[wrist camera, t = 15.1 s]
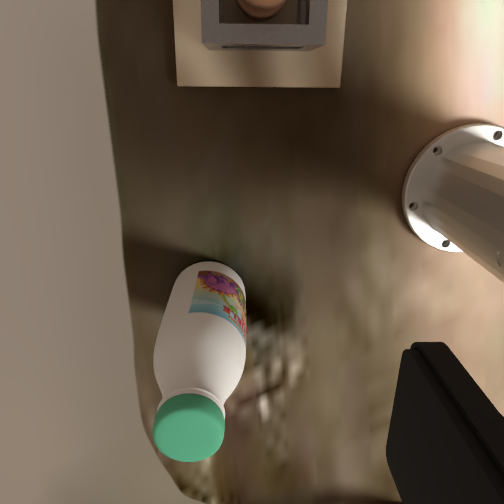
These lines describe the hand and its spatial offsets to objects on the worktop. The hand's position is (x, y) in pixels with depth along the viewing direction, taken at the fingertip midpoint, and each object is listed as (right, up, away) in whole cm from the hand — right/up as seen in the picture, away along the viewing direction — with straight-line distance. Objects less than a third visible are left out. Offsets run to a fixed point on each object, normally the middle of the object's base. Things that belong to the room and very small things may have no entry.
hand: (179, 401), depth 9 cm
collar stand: (+2, +24, +26) cm, 36 cm away
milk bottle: (-3, -1, +37) cm, 37 cm away
